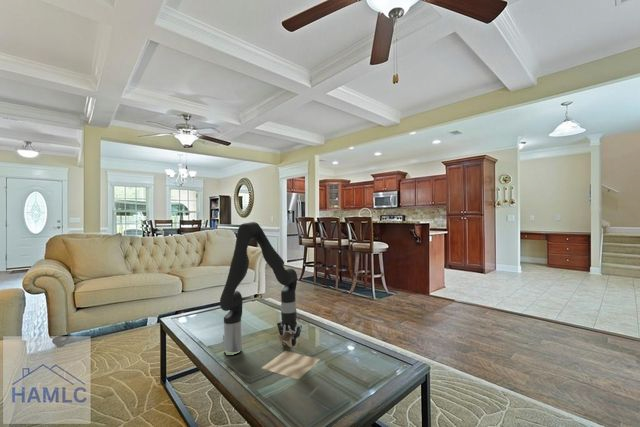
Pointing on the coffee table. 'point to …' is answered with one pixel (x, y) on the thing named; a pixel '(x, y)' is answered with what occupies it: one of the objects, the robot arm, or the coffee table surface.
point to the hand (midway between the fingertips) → (289, 344)
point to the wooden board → (291, 364)
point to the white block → (289, 340)
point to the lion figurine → (281, 339)
